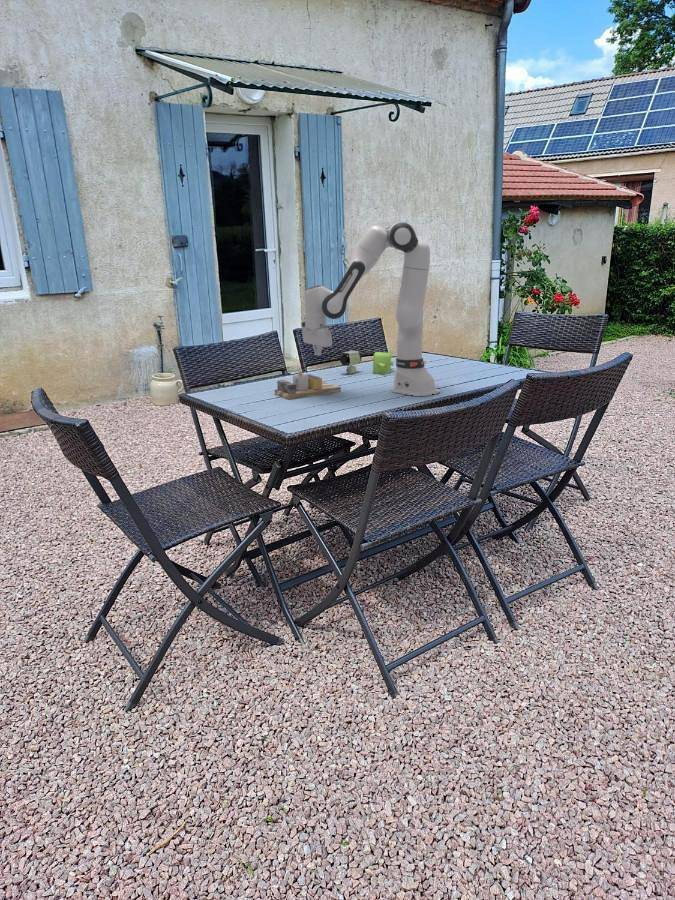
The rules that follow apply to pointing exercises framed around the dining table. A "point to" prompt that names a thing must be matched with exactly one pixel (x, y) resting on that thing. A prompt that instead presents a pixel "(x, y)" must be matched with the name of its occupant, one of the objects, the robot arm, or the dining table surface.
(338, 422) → the dining table surface
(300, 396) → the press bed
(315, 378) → the yellow orange block
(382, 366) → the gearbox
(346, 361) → the pneumatic valve
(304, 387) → the housing
